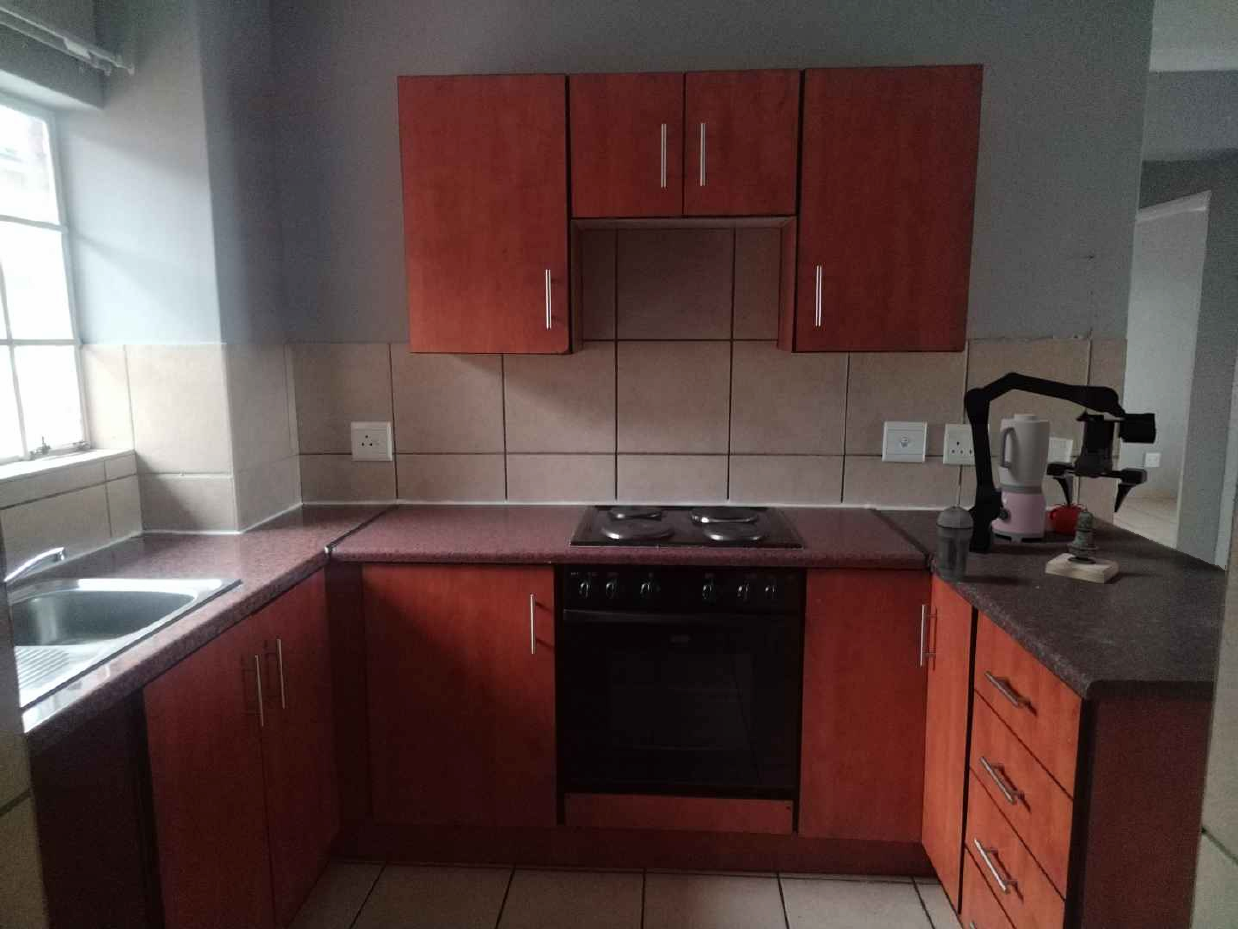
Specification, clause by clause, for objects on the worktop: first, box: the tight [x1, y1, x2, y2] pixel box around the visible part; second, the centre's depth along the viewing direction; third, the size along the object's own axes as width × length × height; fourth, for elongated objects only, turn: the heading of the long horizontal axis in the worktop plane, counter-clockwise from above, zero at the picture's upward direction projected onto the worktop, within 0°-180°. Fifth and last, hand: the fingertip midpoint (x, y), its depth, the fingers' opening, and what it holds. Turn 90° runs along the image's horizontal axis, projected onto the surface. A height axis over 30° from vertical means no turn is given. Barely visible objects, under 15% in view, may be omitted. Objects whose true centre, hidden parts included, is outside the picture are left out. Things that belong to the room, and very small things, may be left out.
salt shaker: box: [1067, 507, 1100, 565], centre depth 161 cm, size 6×6×12 cm
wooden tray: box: [1044, 552, 1119, 584], centre depth 162 cm, size 11×11×2 cm
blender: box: [991, 413, 1051, 543], centre depth 191 cm, size 16×12×32 cm
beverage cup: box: [936, 484, 974, 582], centre depth 158 cm, size 7×7×20 cm
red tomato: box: [1047, 499, 1087, 536], centre depth 199 cm, size 10×10×9 cm
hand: (1092, 509), depth 170 cm, fingers open, 9 cm apart
